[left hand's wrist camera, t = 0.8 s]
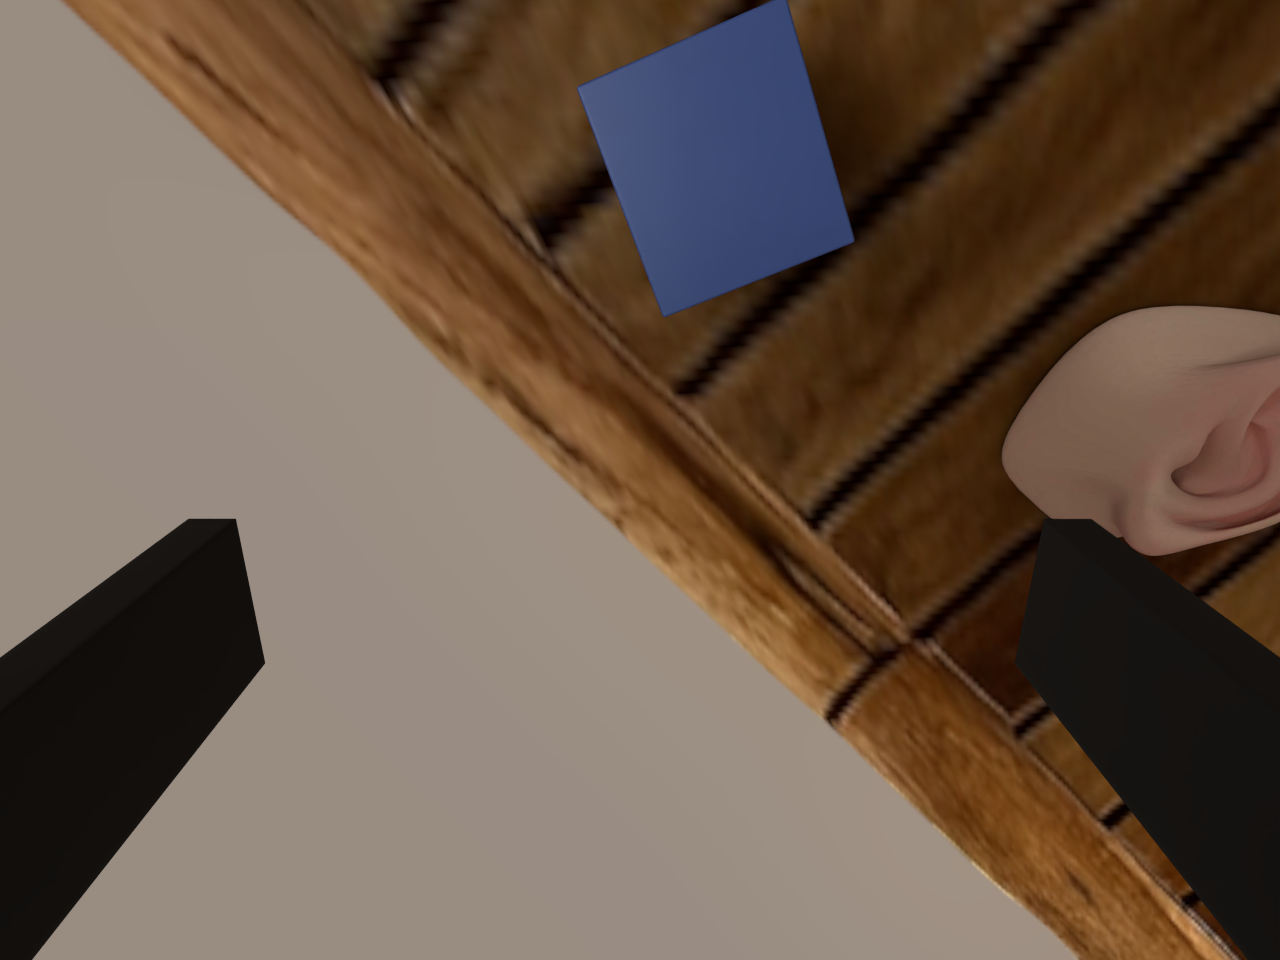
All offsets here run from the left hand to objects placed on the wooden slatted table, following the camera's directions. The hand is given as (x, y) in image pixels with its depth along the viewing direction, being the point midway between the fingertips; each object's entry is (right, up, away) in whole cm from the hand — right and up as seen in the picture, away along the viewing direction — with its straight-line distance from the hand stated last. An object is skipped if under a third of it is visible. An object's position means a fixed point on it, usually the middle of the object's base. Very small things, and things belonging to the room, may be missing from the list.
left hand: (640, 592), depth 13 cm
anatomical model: (+23, +4, +22) cm, 32 cm away
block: (+2, +14, +18) cm, 23 cm away
